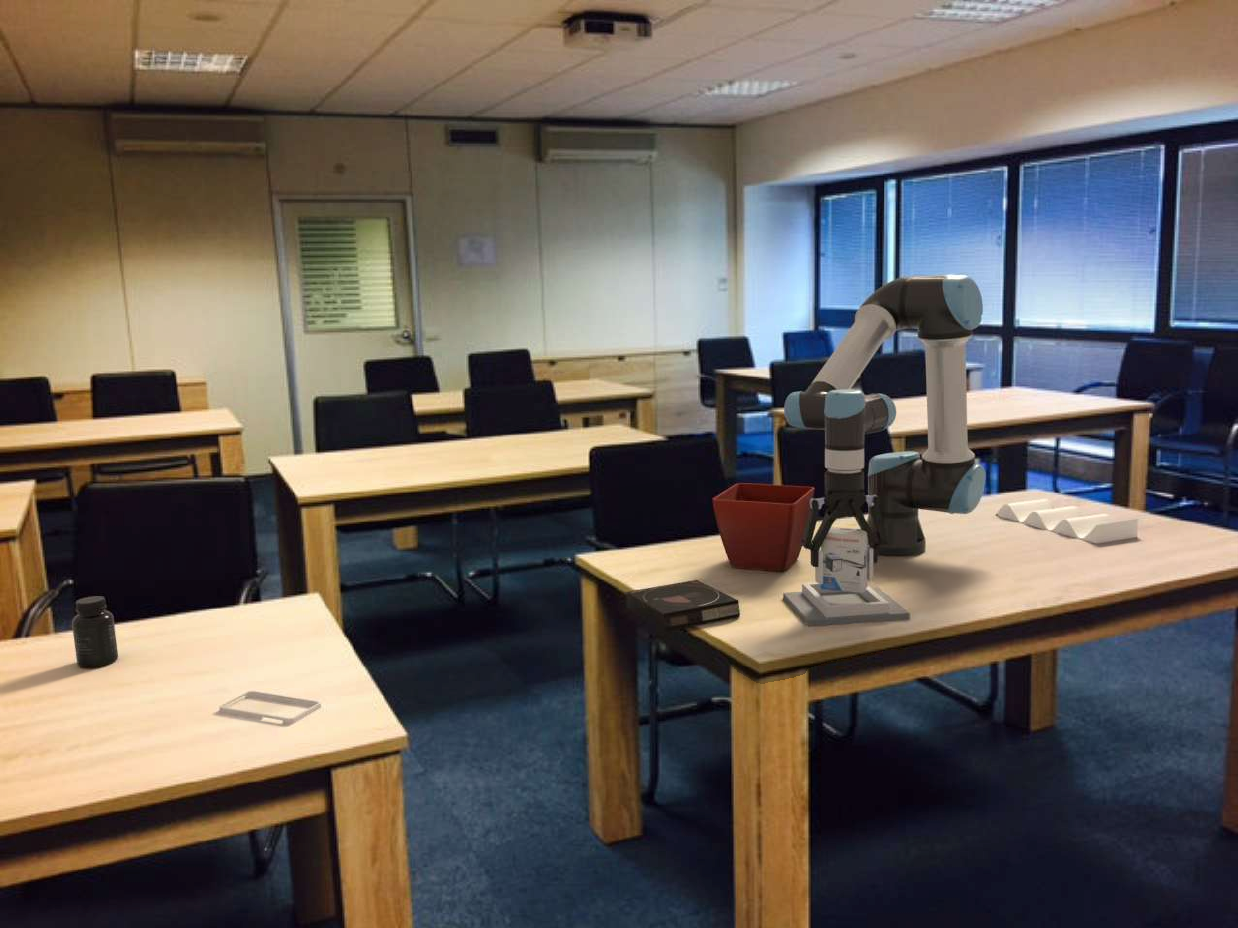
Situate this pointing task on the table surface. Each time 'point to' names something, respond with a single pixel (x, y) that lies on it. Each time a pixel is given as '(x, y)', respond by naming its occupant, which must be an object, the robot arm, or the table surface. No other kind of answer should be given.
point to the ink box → (845, 560)
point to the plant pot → (762, 524)
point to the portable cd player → (682, 605)
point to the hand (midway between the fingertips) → (844, 580)
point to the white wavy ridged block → (1069, 521)
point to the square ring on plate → (843, 606)
